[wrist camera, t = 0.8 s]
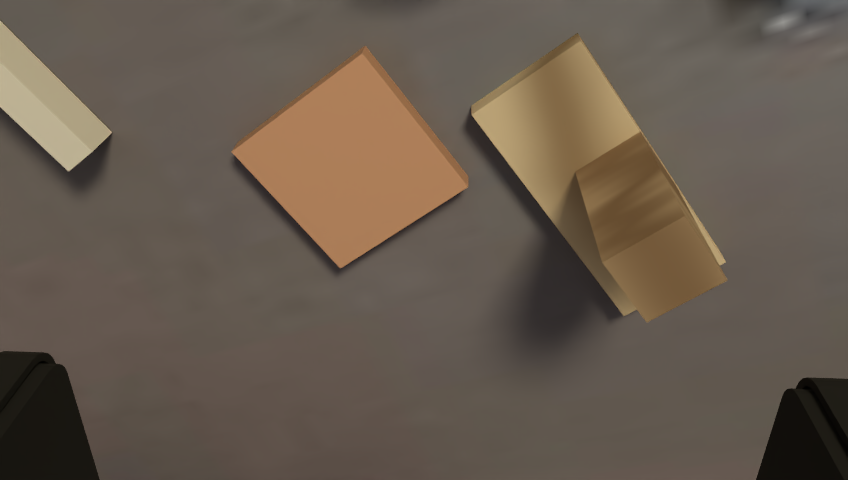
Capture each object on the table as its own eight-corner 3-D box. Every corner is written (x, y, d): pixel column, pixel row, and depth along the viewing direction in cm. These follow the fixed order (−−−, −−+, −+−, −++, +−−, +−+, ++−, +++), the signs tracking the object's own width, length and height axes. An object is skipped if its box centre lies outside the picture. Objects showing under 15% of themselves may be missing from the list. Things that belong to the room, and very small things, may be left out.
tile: (468, 171, 33) (468, 186, 32) (345, 250, 35) (340, 268, 34) (366, 42, 30) (362, 53, 29) (240, 137, 33) (231, 151, 32)
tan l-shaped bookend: (576, 31, 30) (612, 106, 22) (717, 248, 34) (784, 366, 27) (471, 104, 31) (473, 195, 24) (619, 301, 36) (658, 426, 29)
